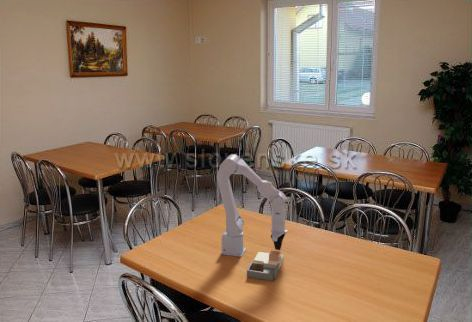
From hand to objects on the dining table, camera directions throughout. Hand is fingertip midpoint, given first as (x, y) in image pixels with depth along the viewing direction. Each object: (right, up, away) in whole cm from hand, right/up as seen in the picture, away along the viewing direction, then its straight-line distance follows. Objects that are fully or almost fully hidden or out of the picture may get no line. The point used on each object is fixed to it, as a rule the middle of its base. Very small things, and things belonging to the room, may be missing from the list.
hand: (278, 249), depth 172 cm
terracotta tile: (-2, -3, -6) cm, 7 cm away
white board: (-5, -4, -5) cm, 8 cm away
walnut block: (-9, -4, -12) cm, 15 cm away
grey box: (-7, -7, -13) cm, 17 cm away
